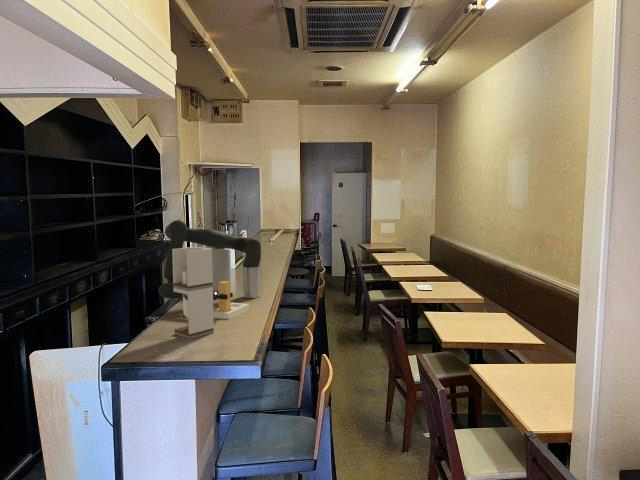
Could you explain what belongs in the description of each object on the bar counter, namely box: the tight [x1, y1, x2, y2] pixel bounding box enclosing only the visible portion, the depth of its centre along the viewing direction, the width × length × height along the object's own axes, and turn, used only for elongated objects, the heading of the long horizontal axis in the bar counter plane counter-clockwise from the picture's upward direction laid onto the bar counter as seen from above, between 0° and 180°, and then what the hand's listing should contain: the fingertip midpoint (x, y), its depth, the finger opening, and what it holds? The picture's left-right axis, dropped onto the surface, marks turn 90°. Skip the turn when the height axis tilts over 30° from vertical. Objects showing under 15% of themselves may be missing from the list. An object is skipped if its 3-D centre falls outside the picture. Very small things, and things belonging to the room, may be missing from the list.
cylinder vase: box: [212, 248, 232, 293], centre depth 268 cm, size 12×12×25 cm
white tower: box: [172, 246, 215, 340], centre depth 185 cm, size 11×11×35 cm
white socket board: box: [213, 302, 250, 320], centre depth 218 cm, size 20×10×3 cm, turn 162°
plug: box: [218, 281, 232, 312], centre depth 213 cm, size 4×4×15 cm
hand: (229, 296), depth 212 cm, fingers closed on plug, 4 cm apart
